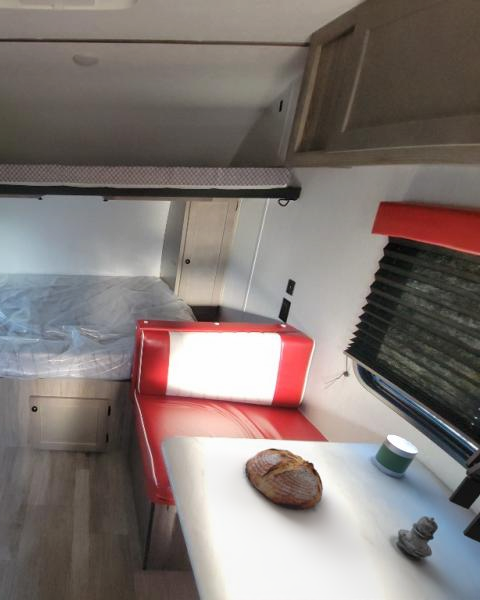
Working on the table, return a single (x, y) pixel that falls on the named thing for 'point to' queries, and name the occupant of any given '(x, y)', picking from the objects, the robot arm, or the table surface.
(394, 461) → the tin can
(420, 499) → the table surface
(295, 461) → the bread
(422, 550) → the grey stone statuette
